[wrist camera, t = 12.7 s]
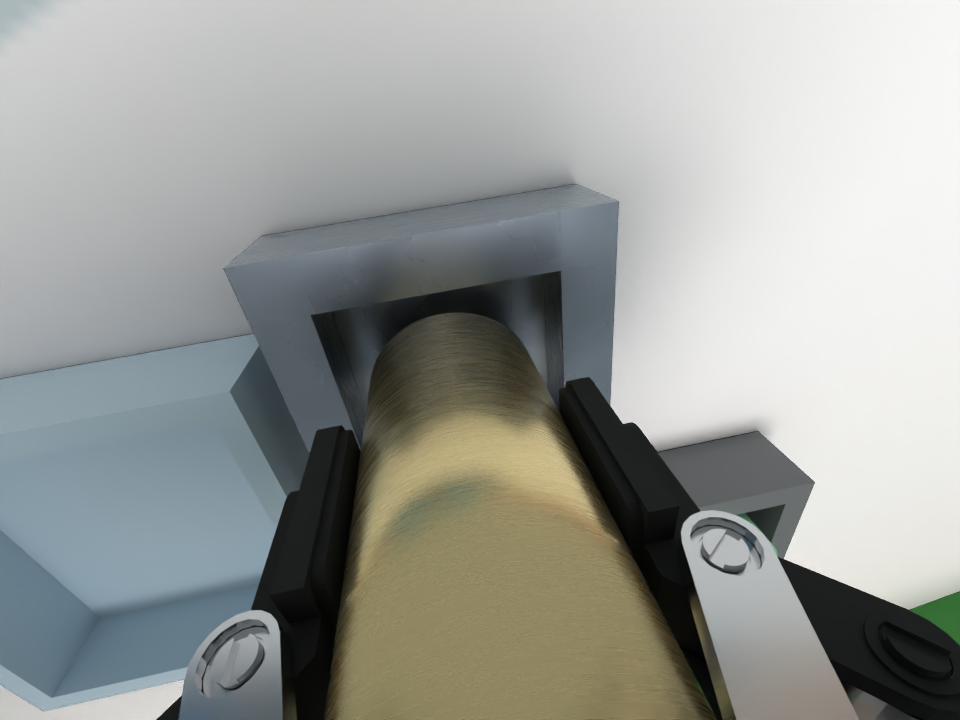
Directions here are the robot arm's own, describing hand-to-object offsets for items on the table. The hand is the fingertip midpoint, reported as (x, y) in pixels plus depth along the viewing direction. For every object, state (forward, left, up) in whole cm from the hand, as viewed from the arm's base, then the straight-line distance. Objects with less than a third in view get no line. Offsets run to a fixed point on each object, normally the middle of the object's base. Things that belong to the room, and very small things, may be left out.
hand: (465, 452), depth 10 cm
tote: (-12, -4, -5) cm, 14 cm away
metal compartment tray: (0, -4, -5) cm, 7 cm away
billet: (0, 0, -3) cm, 3 cm away
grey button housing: (+10, -11, -5) cm, 16 cm away
